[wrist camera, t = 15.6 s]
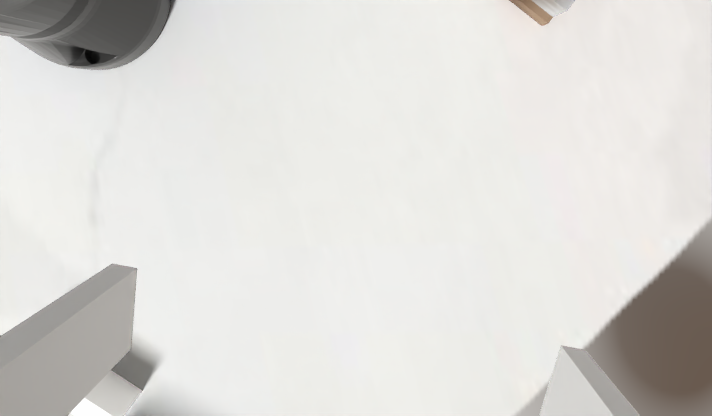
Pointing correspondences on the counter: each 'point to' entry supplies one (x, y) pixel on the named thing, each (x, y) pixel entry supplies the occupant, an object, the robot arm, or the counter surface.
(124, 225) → the counter surface
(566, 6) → the wooden divided tray
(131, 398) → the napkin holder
